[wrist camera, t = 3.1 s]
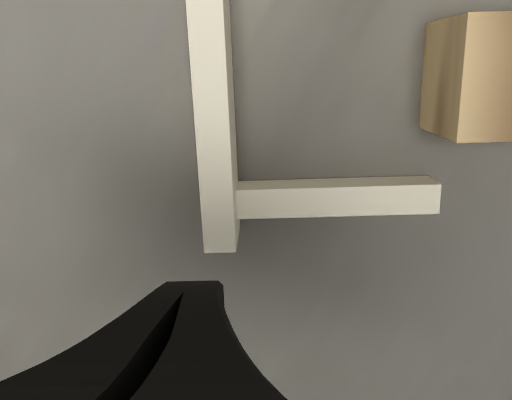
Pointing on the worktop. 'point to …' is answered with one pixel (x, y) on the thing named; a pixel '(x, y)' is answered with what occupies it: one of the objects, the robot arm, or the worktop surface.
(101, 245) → the worktop surface
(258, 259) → the worktop surface
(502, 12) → the oak block
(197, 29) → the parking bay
